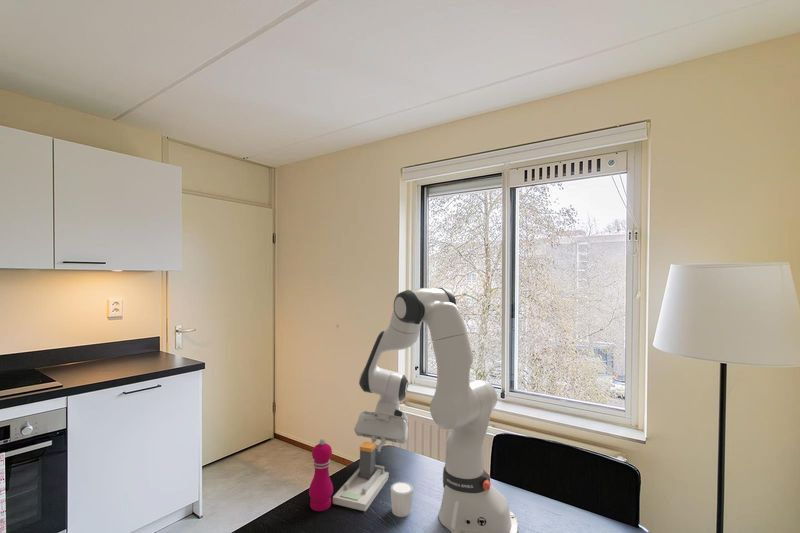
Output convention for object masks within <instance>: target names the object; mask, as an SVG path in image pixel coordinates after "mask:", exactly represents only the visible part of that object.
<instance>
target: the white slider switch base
mask: <svg viewBox="0 0 800 533" xmlns="http://www.w3.org/2000/svg"><path fill="white" fill-rule="evenodd" d="M359 474H360V462H359V465H358V468H357V469H356V470H355V471H354V472H353V474H352V475H351V476H350V477H349V478H348V479H347V481H346V482H345V483H344V484H343V485H342V486H341V487H340V488H339V490H337V492H335V494H334V495H333V496H332V505H337V506H341V507H346V508H349V509H354V510H359V511H361V512H362V511H363V512H366V511H367V510H368V508H369V507H370V506H371V504H372V502H374V499H376V497H377V496H378V494H379V493H380V492H381V490H382V489H383V487H384V486H385V484H386V483H387V481H388V480H389V479H388V478H390V477H389V476H390V475H389V474H390V472H388V471H385V465H379V464H375V473H374V474H373V476H372V477H371V478H370V479H366V478H361V477H359Z"/></svg>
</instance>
